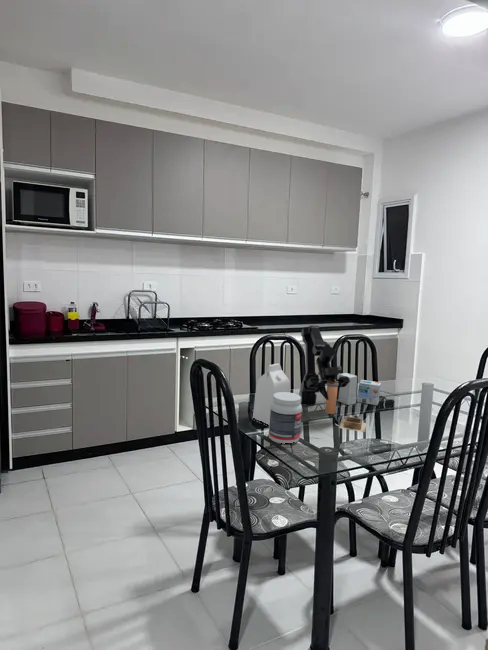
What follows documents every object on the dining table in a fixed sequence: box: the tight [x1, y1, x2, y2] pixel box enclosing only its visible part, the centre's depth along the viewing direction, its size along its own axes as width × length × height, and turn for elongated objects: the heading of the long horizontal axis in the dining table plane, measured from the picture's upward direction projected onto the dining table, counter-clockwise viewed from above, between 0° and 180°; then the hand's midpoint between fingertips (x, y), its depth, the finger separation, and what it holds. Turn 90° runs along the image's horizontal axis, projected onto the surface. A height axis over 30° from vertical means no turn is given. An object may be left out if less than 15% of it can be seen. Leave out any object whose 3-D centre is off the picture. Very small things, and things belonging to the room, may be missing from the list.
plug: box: [324, 381, 339, 415], centre depth 201 cm, size 5×5×14 cm
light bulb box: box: [356, 379, 382, 406], centre depth 241 cm, size 11×7×11 cm, turn 68°
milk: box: [252, 363, 291, 425], centre depth 206 cm, size 12×12×26 cm
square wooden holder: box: [338, 415, 367, 433], centre depth 203 cm, size 11×11×4 cm
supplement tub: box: [268, 391, 303, 445], centre depth 186 cm, size 13×13×18 cm
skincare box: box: [336, 372, 358, 406], centre depth 238 cm, size 8×6×15 cm
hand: (332, 399), depth 200 cm, fingers closed on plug, 4 cm apart
